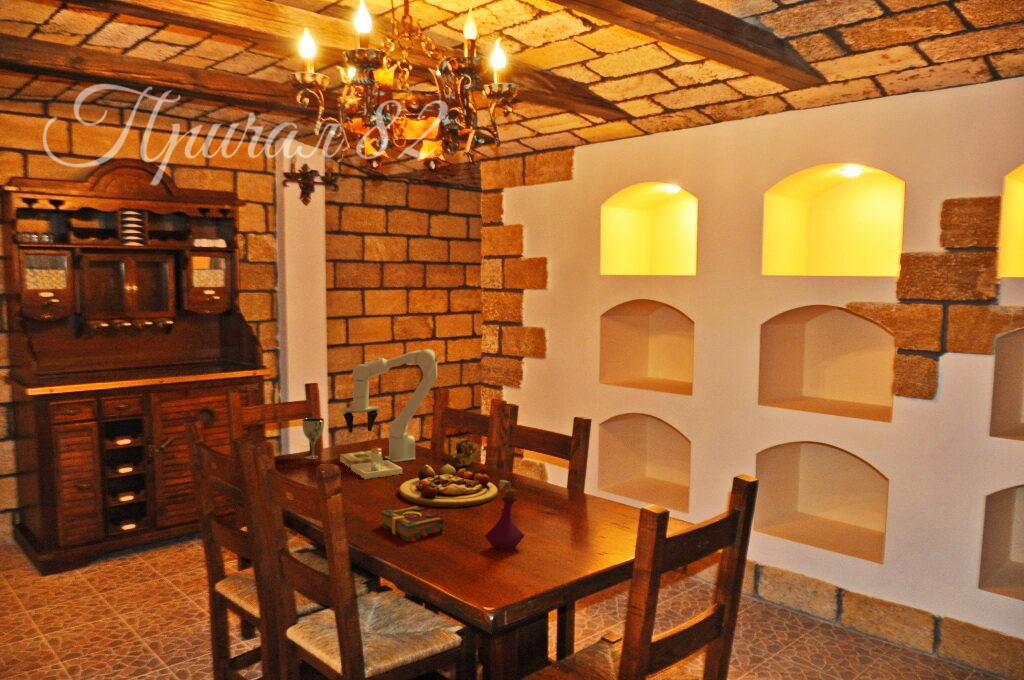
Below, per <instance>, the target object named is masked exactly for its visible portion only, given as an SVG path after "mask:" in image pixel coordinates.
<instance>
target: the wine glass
mask: <svg viewBox="0 0 1024 680" xmlns="http://www.w3.org/2000/svg"><path fill="white" fill-rule="evenodd" d="M301 423H302V424H301V425H302V432H303V435H304V436H305V437H306V438H307V440H308V441H309V442H310V444H311V455H308V456H305V457H304V458H307V459H316V458H318V456H319V455H315V446H316V442H317V441H318V440H319V438H320V437H321V436H322V435H323V432H324V427H325V419H324V418H323V417H305V418H302V420H301Z"/></svg>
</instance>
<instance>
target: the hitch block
mask: <svg viewBox="0 0 1024 680" xmlns="http://www.w3.org/2000/svg"><path fill="white" fill-rule="evenodd" d="M382 461H384V457H383V456H382ZM339 462H340V463H341V462H342V463H344V464H345V465H344V464H343V465H344V466H346V465H347V466H348V467H347V466H346V467H347V468H349V467H350V468H351V465H353V464H361V463H369V462H371V450H365V451H357V452H348V453H340V454H339ZM342 463H341V464H342ZM350 468H349V469H350Z"/></svg>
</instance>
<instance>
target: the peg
mask: <svg viewBox="0 0 1024 680" xmlns="http://www.w3.org/2000/svg"><path fill="white" fill-rule="evenodd" d="M370 451H371V471H372V472H374V471H381V466H382V457H383V456H382V454H383V453H382V451H383V449H382V447H372V448H371V450H370Z"/></svg>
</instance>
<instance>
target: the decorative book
mask: <svg viewBox="0 0 1024 680" xmlns="http://www.w3.org/2000/svg"><path fill="white" fill-rule="evenodd" d="M380 514H381V515H383V519H382V521H383V522H382V523H380V526H381V527H382V528H384V529H386V530H389V531H391V534H393V535H397V536H399V537H400V538H401V539H402V540H404V541H406V542H408V541H409V542H412V543H413V541H414V542H417V540H420V539H421V538H427V537H430V536H434V535H439V534H443V522H444V520H443V518H440V517H439V516H438V514H436V513H434V512H433V513H431V512H429V511H427V510H426V508H424V507H422V506H421V507H420V506H417V505H412V506H406V507H401V508H396V509H386V510H381V511H380Z"/></svg>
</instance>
